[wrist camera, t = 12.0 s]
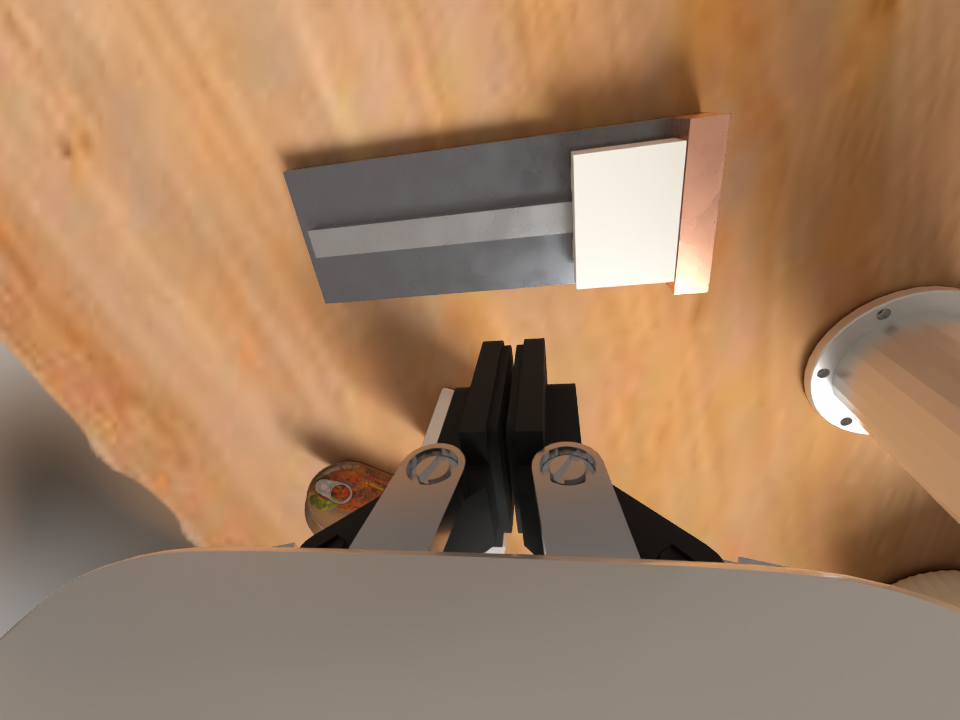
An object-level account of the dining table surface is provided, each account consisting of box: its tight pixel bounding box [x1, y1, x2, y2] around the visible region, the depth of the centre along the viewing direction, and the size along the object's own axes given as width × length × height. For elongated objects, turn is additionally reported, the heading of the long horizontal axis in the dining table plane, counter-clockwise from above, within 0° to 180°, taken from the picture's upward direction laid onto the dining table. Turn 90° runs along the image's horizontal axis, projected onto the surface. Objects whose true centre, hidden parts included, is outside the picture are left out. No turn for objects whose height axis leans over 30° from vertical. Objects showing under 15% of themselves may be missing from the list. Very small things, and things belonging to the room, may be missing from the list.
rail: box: [283, 113, 731, 303], centre depth 30 cm, size 28×10×5 cm, turn 97°
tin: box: [305, 461, 393, 534], centre depth 44 cm, size 15×3×8 cm, turn 66°
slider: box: [571, 138, 687, 289], centre depth 27 cm, size 6×8×4 cm
